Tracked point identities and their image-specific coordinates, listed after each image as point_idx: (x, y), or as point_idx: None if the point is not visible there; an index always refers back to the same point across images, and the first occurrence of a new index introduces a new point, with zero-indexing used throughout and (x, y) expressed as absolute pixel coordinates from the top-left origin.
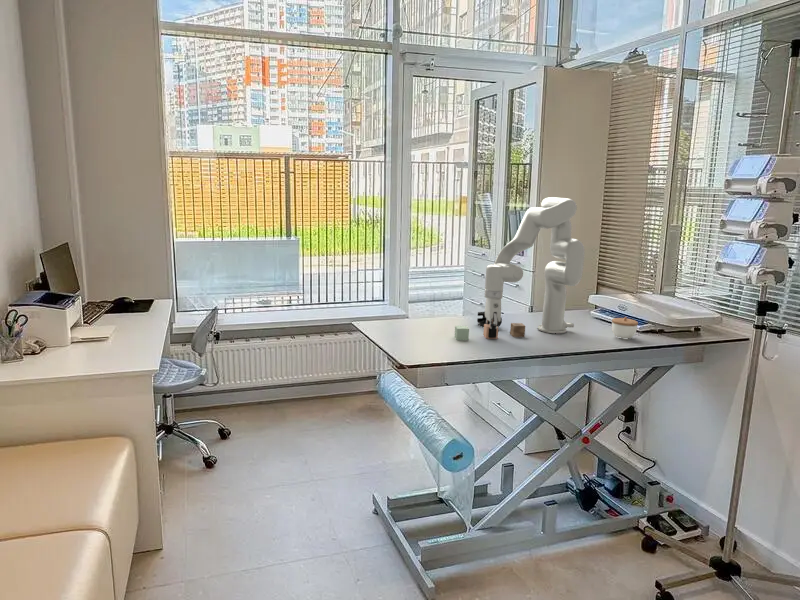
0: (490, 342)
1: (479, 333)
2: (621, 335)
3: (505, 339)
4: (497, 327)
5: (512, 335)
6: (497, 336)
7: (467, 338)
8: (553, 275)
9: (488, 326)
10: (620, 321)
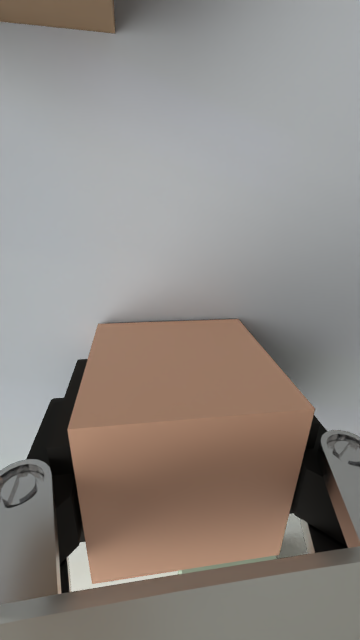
0: (347, 403)
1: (22, 458)
2: None
3: (261, 225)
4: (307, 420)
5: (65, 20)
6: (247, 333)
7: (272, 556)
8: None
9: (248, 537)
10: None
